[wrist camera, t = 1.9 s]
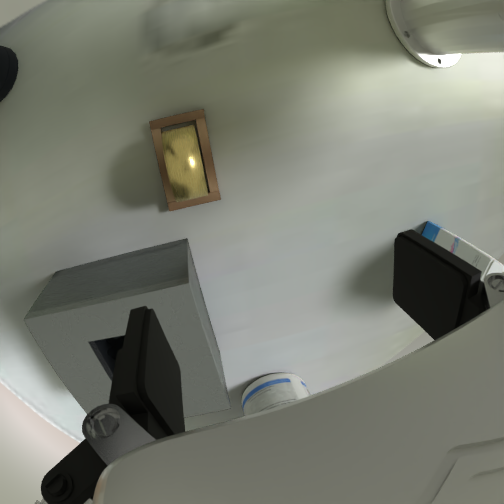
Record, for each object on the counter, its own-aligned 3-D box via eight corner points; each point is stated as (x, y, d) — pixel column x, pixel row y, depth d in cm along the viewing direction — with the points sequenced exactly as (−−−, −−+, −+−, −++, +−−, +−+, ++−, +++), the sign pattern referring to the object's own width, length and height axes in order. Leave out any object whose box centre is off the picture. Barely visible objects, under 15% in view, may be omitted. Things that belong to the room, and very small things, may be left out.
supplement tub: (229, 407, 41) (249, 494, 28) (258, 364, 38) (290, 458, 25) (285, 414, 44) (314, 490, 31) (317, 374, 42) (358, 454, 28)
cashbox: (56, 271, 28) (23, 319, 20) (187, 238, 30) (189, 283, 22) (108, 372, 34) (98, 427, 26) (219, 351, 36) (231, 408, 28)
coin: (178, 193, 28) (176, 211, 23) (164, 131, 25) (158, 132, 20) (205, 187, 28) (210, 203, 23) (193, 124, 26) (194, 124, 20)
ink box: (411, 254, 37) (472, 299, 26) (426, 219, 35) (493, 256, 24) (445, 267, 39) (500, 307, 29) (459, 237, 38) (517, 272, 27)
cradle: (150, 121, 25) (149, 121, 24) (202, 109, 25) (203, 109, 24) (170, 208, 28) (169, 211, 27) (219, 197, 29) (220, 199, 28)
